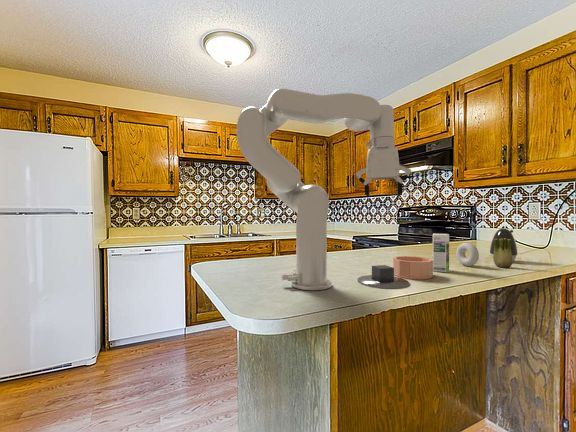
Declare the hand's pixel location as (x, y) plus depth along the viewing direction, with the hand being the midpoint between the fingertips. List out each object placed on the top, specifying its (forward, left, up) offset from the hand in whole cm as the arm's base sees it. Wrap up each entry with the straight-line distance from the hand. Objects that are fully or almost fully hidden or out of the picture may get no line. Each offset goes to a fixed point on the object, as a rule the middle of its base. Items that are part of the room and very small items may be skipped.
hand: (383, 196), depth 95 cm
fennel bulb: (+61, +8, -28) cm, 68 cm away
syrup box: (+31, +9, -28) cm, 43 cm away
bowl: (+15, +5, -28) cm, 32 cm away
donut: (+49, +14, -28) cm, 59 cm away
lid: (-1, -1, -29) cm, 29 cm away
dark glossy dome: (+75, +19, -28) cm, 83 cm away
